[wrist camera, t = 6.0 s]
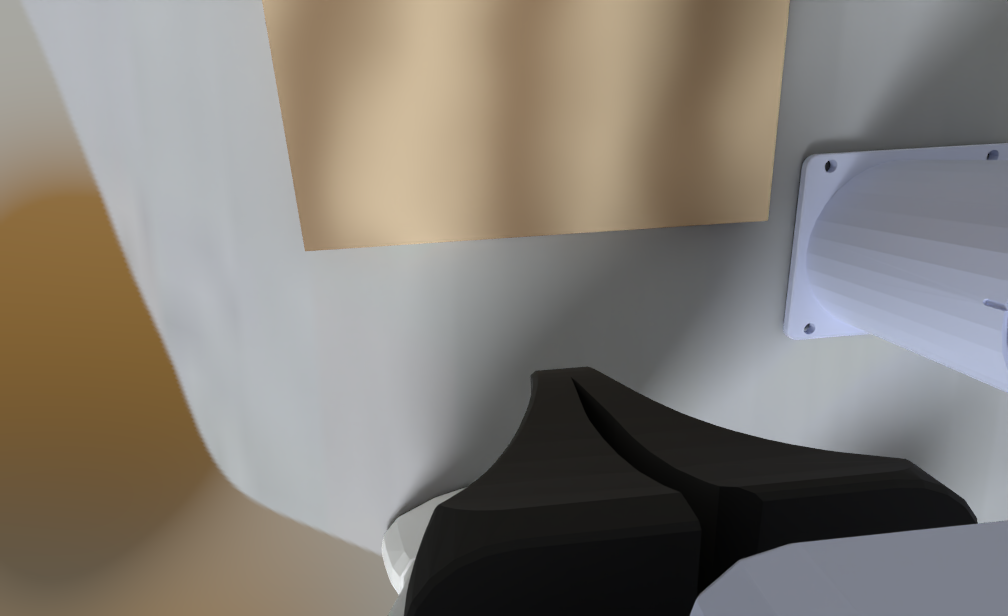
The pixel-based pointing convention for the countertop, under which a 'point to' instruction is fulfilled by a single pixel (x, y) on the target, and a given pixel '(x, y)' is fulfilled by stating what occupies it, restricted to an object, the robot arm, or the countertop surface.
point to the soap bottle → (406, 547)
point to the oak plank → (525, 115)
